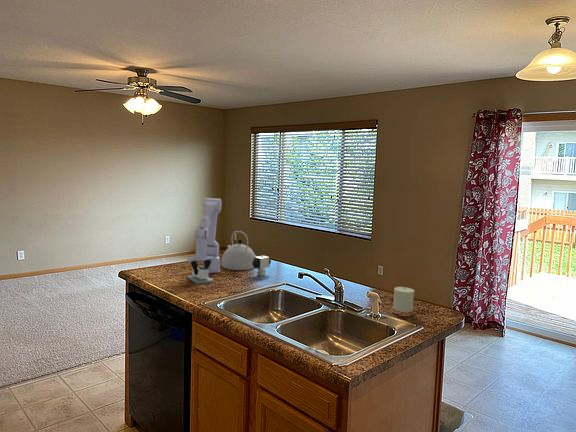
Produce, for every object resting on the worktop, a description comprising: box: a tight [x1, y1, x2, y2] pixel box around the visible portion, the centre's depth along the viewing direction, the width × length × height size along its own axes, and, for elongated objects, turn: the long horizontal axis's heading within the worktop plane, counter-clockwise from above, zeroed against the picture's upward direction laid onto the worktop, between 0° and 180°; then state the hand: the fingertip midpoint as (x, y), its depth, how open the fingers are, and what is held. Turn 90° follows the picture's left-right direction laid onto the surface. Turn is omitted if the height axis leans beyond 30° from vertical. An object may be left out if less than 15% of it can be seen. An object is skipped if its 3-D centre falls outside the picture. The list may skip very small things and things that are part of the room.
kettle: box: [220, 230, 257, 271], centre depth 278 cm, size 25×23×22 cm
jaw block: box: [191, 265, 209, 279], centre depth 240 cm, size 5×10×5 cm, turn 34°
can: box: [392, 286, 415, 312], centre depth 202 cm, size 9×9×12 cm
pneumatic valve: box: [252, 255, 272, 277], centre depth 258 cm, size 6×12×12 cm, turn 141°
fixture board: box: [186, 274, 215, 285], centre depth 240 cm, size 10×14×1 cm
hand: (200, 274), depth 240 cm, fingers closed on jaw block, 5 cm apart
